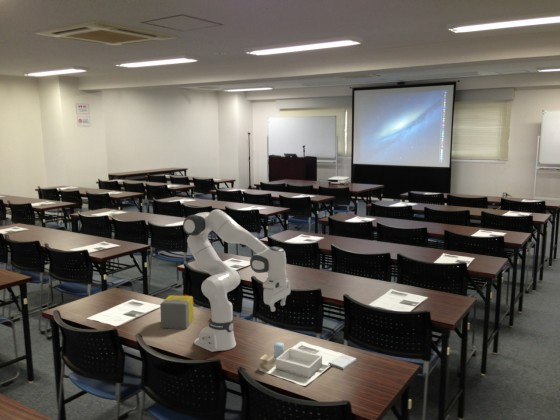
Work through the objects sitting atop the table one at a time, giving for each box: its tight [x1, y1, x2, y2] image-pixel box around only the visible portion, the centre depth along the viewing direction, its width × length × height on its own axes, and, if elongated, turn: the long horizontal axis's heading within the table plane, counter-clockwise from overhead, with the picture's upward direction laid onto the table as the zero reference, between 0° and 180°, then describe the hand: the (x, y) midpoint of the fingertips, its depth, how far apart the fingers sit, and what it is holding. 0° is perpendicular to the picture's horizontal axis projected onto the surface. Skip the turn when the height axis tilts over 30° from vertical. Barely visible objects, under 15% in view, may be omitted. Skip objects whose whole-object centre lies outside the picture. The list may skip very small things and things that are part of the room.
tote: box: [275, 347, 323, 379], centre depth 219 cm, size 18×14×5 cm
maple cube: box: [259, 353, 275, 371], centre depth 219 cm, size 5×5×5 cm
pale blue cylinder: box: [273, 341, 285, 360], centre depth 229 cm, size 5×5×7 cm
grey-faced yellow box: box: [159, 294, 195, 330], centre depth 275 cm, size 15×24×15 cm, turn 174°
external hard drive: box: [328, 353, 357, 371], centre depth 225 cm, size 2×8×12 cm
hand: (278, 308), depth 226 cm, fingers open, 8 cm apart
